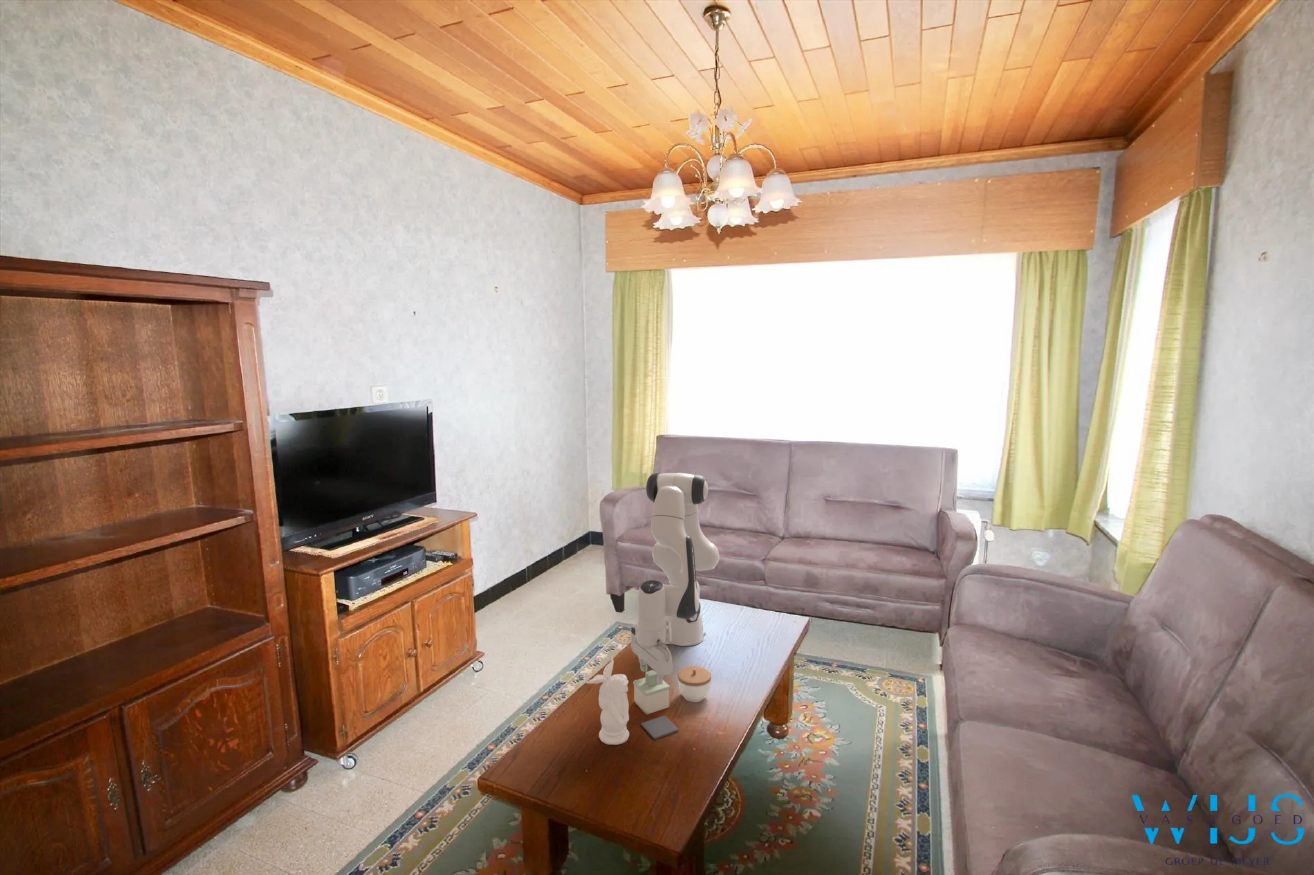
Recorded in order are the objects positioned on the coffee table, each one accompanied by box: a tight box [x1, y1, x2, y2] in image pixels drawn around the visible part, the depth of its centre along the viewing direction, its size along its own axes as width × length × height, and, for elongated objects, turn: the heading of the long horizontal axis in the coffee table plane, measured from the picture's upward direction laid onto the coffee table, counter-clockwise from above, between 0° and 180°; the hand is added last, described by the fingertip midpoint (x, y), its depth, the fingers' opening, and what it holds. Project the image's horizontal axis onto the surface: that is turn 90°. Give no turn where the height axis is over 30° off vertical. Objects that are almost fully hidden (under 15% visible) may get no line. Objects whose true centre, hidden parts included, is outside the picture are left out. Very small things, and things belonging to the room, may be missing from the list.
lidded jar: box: [677, 665, 712, 703], centre depth 195 cm, size 11×11×9 cm
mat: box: [640, 715, 679, 740], centre depth 179 cm, size 8×8×1 cm
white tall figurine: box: [584, 655, 630, 746], centre depth 174 cm, size 12×12×22 cm
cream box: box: [633, 684, 670, 715], centre depth 191 cm, size 8×8×6 cm
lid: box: [632, 669, 671, 696], centre depth 191 cm, size 8×8×4 cm
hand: (651, 677), depth 190 cm, fingers open, 8 cm apart
